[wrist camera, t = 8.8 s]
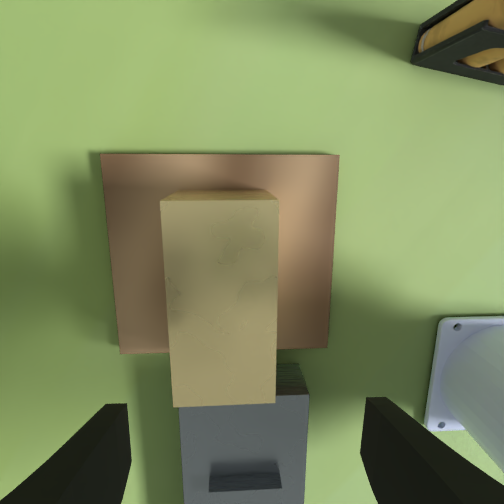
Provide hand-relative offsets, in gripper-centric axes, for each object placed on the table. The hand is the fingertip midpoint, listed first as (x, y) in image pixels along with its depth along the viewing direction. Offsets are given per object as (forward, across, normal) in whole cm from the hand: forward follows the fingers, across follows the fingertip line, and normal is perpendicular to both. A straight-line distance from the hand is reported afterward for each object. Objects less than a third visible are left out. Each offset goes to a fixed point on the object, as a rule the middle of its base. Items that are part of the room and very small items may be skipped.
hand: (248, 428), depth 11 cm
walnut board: (+10, +1, -3) cm, 11 cm away
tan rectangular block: (+10, +1, -2) cm, 10 cm away
